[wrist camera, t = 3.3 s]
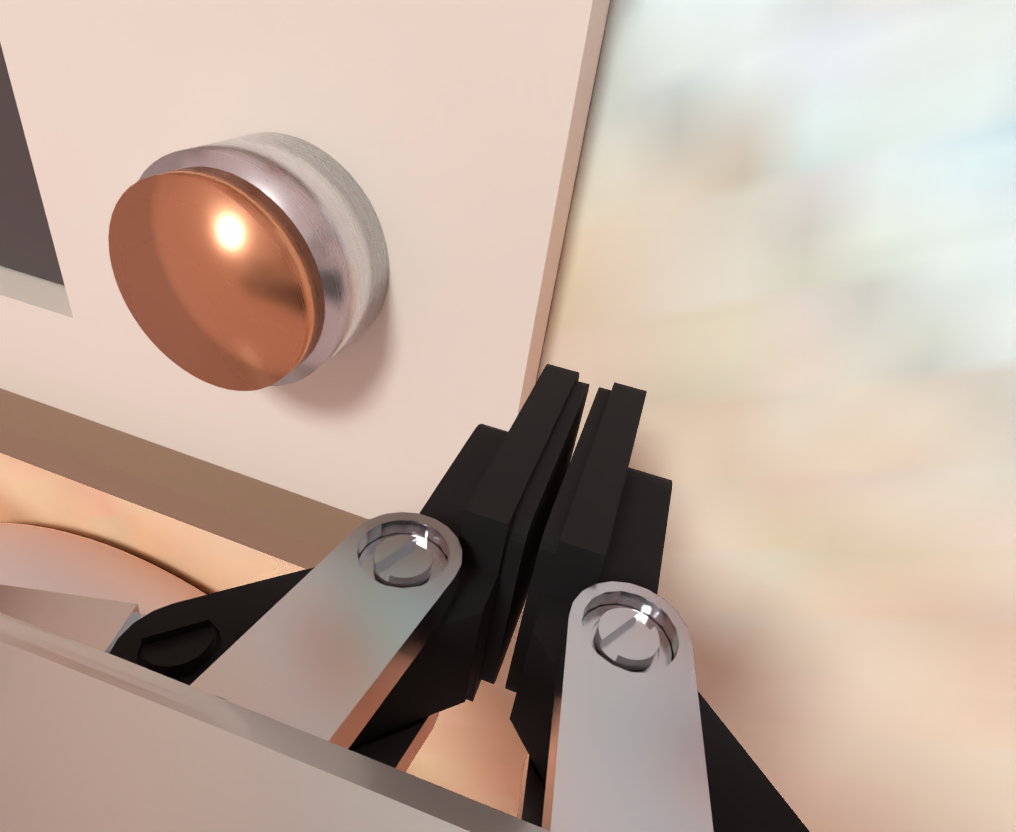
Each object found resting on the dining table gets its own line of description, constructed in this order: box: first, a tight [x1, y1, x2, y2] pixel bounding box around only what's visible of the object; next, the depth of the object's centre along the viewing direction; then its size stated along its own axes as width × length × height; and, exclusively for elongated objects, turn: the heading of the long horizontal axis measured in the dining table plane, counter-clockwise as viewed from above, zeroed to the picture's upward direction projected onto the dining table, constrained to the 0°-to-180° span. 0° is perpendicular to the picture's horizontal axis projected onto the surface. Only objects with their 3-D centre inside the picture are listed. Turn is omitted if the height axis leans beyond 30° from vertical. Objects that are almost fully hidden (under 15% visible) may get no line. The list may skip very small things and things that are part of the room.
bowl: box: [0, 522, 207, 614], centre depth 31 cm, size 30×30×8 cm
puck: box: [108, 132, 389, 391], centre depth 14 cm, size 5×5×3 cm
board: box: [0, 0, 610, 569], centre depth 16 cm, size 24×18×3 cm
